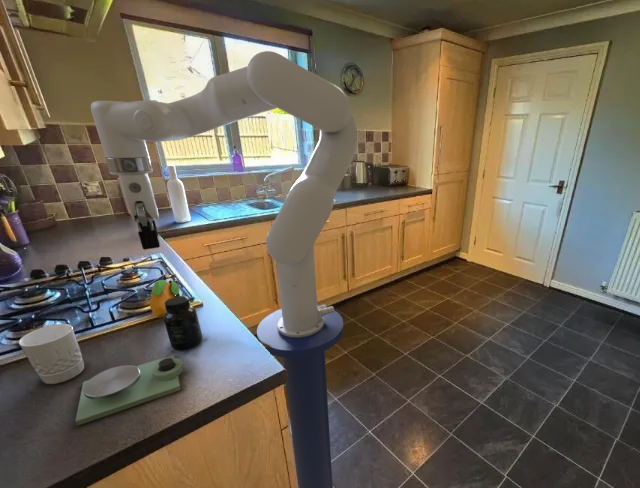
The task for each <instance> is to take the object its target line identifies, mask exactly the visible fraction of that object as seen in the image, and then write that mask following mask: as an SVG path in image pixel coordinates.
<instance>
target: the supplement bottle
mask: <svg viewBox="0 0 640 488" xmlns="http://www.w3.org/2000/svg"><path fill="white" fill-rule="evenodd" d="M165 307H166V308H165V309H166V311H167V312H166V313H165V314H164V317H162V318H163V319H162V320H163V323H164V326H165V329H166V333H167V337H168V340H169V343H170V347H171V348H172V349H173V350H174V351H179V352H183V351H189V350H191V349H194V348H196V347H198V346H199V345H200V344H202V342H203V333H202V330H201V324H200V320H199V316H198V312H197V309H196V308H195V307H193V306H191V303H190V299H189V297H188V296H184V295H179V296H178V297H173V298H171V299H168V300H167V301H166V302H165Z"/></svg>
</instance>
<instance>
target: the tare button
mask: <svg viewBox="0 0 640 488" xmlns="http://www.w3.org/2000/svg"><path fill="white" fill-rule="evenodd" d="M174 366H175V365H174V362H173V359H171V358H167V359H163V360H162V361H160V362H159V368H160V371H162V372H166V371H169V370H171V369H173V368H174Z"/></svg>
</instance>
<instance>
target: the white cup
mask: <svg viewBox="0 0 640 488" xmlns="http://www.w3.org/2000/svg"><path fill="white" fill-rule="evenodd" d="M75 333H76V332H75V331H74V328H73V326H72V325H71V324H68V323H57V324H51V325H46V326H43V327H40V328H37V329H35V330H32V331H30V332H28V333H26V334H25V335H23V336H22V337H21V338H20V339H18V345H19V346H20V349H21V350H22V351H23V353H24V354H25V356H26V358H27V360H28V362H29V363H30V365H31V367H32V368H33V369H34V371H35V372H36V373H37V375H38V376H39V378H40V380H41V381H42V383H44V384H46V385H55V384H59V383H64V382H66V381H69V380H71V379H74V378H75V377H77V376H78V375H80V374H81V373H82V372H83V371H84V370H85V362H84V359H83V354H82V351H81V347H80V345H79V342H78V339H77V337H76V336H77V335H76V334H75Z"/></svg>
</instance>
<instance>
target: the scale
mask: <svg viewBox="0 0 640 488" xmlns="http://www.w3.org/2000/svg"><path fill="white" fill-rule="evenodd" d="M167 358H171V359H173V362H174V365H175V366H174V368H173V369H171V370H169V371H166V372H162V371H160V368H159V362H160V361H162V360H163V359H167ZM134 366H135V367H137V368H138V369H139V370H140V373H141V376H140V379H139V380H138V382H137V383H136V384H135V385H134V386H132V387H131V388H130V389H128V390H126V391H125V392H123V393H121V394H118V395H116V396H113V397H110V398H106V399H100V400H93V399H89V398H87V397H86V396H85V395H84V392H83V388H84V386H85V384H86V383H87V382H88V381H89V380H90V379H88V380H84V381H83V383H82V387H81V392H80V396H79V402H78V407H77V412H76V417H75V420H74V421H75V424H76V426H81V425H84V424H87V423H90V422H92V421H96V420H98V419H102V418H105V417H107V416H110V415H113V414H116V413H118V412H121V411H124V410H127V409H130V408H133V407H135V406H138V405H142V404H144V403H147V402H150V401H153V400H156V399H159V398H162V397H164V396H168V395H170V394H173V393H176V392H178V391H181V390H182V389H181V382H180V378H179V375H180V374H181V373H182V372H183V371H184V363H183V360H182V359H180V358H177V357H176V355H175V354H172V355H169V356H165V357H162V358H158V359H155V360H151V361H147V362H145V363H141V364H139V365H134Z"/></svg>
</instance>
